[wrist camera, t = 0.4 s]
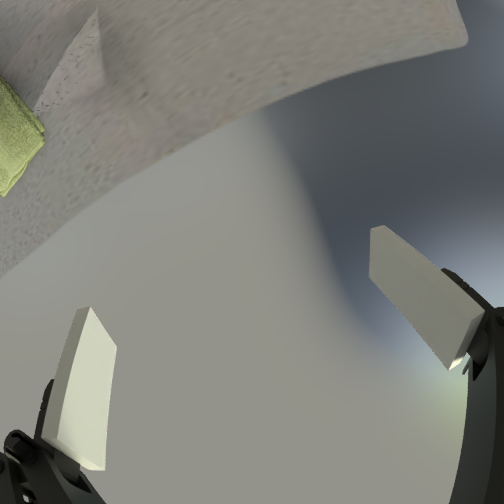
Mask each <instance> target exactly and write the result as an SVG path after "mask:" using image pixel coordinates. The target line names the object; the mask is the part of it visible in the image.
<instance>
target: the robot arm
mask: <svg viewBox="0 0 504 504" xmlns="http://www.w3.org/2000/svg"><path fill="white" fill-rule="evenodd" d="M369 278H371V280H372V281H373V282H374V283H375V284H376V285H377V286H378V287H379V289H380V290H381V291H382V292H383V293H384V294H385V295H386V296H387V297H388V298H389V299H390V301H391V302H392V303H393V304H394V305H395V307H396V308H397V309H398V310H399V311H400V312H401V313H402V315H403V316H404V317H405V318H406V319H407V320H408V322H409V323H410V324H411V325H412V326H413V328H414V329H415V330H416V331H417V332H418V334H419V335H420V336H421V337H422V338H423V340H424V341H425V342H426V343H427V344H428V346H429V347H430V348H431V349H432V351H433V352H434V353H435V354H436V356H437V357H438V358H439V359H440V361H441V362H442V363H443V365H444V366H445V367H446V368H447V370H450V369H452V368H453V367H455V366H456V365H458V364H459V363H461V362H462V360H463V358H464V356H465V354H466V352H467V353H468V354H469V355H470V356H471V357H470V359H469V360H468V362H467V364H466V366H465V368H464V369H463V373H462V374H465V373H466V371H467V369H468V368H469V372H468V397H467V409H466V420H465V428H464V436H463V443H462V449H461V455H460V460H459V465H458V470H457V475H456V479H455V483H454V487H453V491H452V495H451V498H450V502H449V504H504V307H497V308H494V307H492V306H491V305H490V304H489V303H488V302H487V301H486V300H485V299H484V298H483V297H482V296H481V295H479V294H478V293H477V292H476V291H475V290H474V289H473V288H472V287H471V288H470V286H469V285H468V284H467V283H466V282H464V281H463V279H461V278H460V277H459V276H458V275H457V274H456V273H454V272H452V271H450V270H447V269H445V268H443V269H441V270H439V268H437V267H436V266H435V265H434V264H433V263H431V262H430V261H429V260H428V259H427V258H425V257H424V256H423V255H422V254H420V253H419V252H418V251H417V250H416V249H414V248H413V247H412V246H410V245H409V244H408V243H407V242H405V241H404V240H403V239H402V238H400V237H399V236H397V235H396V234H395V233H394V232H392V231H391V230H390V229H388V228H387V227H386V226H384V225H382V226H379V227H376V228H372V229H371V238H370V268H369ZM116 350H117V347H116V345H115V344H114V342H113V341H112V339H111V338H110V336H109V335H108V333H107V332H106V330H105V329H104V327H103V326H102V324H101V323H100V321H99V320H98V318H97V316H96V315H95V313H94V312H93V310H92V308H91V307H87V308H82V309H79V310H77V312H76V315H75V318H74V320H73V323H72V326H71V329H70V331H69V334H68V338H67V340H66V343H65V346H64V349H63V352H62V356H61V359H60V362H59V366H58V369H57V373H56V376H55V379H52V380H50V382H49V384H48V385H47V387H46V389H45V392H44V395H43V399H42V400H43V402H42V403H41V407H40V409H41V410H40V412H39V416H38V420H37V425H36V429H35V435H34V439H31V438H30V437H29V436H28V435H26V434H25V433H24V432H22V431H20V430H13V431H12V432H10V433H9V434H8V436H7V437H6V439H5V442H4V453H1V452H0V504H106V503H105V502H104V500H103V499H102V498H101V497H100V495H99V494H98V493H97V491H96V490H95V489H94V487H93V486H92V484H91V483H90V482H89V480H88V479H87V477H86V476H85V475H84V474H83V473H82V472H81V471H80V465H82V466H84V467H85V468H87V469H89V470H105V457H106V437H107V423H108V413H109V412H108V411H109V402H110V393H111V385H112V377H113V370H114V363H115V358H116ZM5 454H6V455H7V456H6V455H5ZM8 456H9V457H10V458H9V457H8ZM23 495H25V496H27V497H28V499H29V503H28V502H26V501H24V498H23Z"/></svg>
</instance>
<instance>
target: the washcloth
mask: <svg viewBox="0 0 504 504" xmlns="http://www.w3.org/2000/svg"><path fill="white" fill-rule="evenodd" d="M45 130H46V129H45V127H44V124H42V123H41V122H40V120H38V118H37V117H36V116H34V115H33V112H32V111H31V110H30V109H29V108H28V107H27V106H26V105H25V104H24V102H23V101H22V100H21V99H20V97H19V96H18V95H17V94H16V93H15V92H14V90H13V89H11V87H10V85H9V84H8V83H6V81H4V79H3V78H2V77H1V76H0V196H2V197H5V195H6V194H7V192H8V191H9V189H10V188H11V187H12V186H13V185H14V184H15V182H16V181H17V180H18V179H19V178H20V176H21V175H22V174H23V172H24V170H25V169H26V167H27V164H28V163H29V162H30V160H31V159H32V158H33V156H34V155H35V154H36V153H37V151H38V150H39V149H40V148H41V147H42V146H43V145H44V144H45V141H44V138H45V137H44V136H43V135H42V134H43V132H44V131H45Z"/></svg>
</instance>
